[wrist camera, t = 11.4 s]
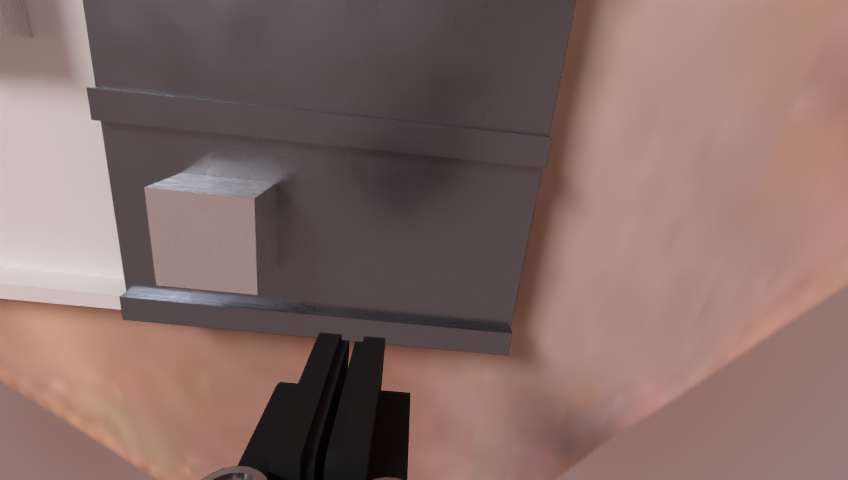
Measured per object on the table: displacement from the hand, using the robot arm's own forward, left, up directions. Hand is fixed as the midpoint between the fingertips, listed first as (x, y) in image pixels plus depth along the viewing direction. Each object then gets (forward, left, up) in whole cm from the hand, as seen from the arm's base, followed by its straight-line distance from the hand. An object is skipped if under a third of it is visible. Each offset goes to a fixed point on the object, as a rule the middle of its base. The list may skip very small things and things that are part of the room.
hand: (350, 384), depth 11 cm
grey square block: (+7, -1, -9) cm, 11 cm away
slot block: (+3, -5, -11) cm, 13 cm away
